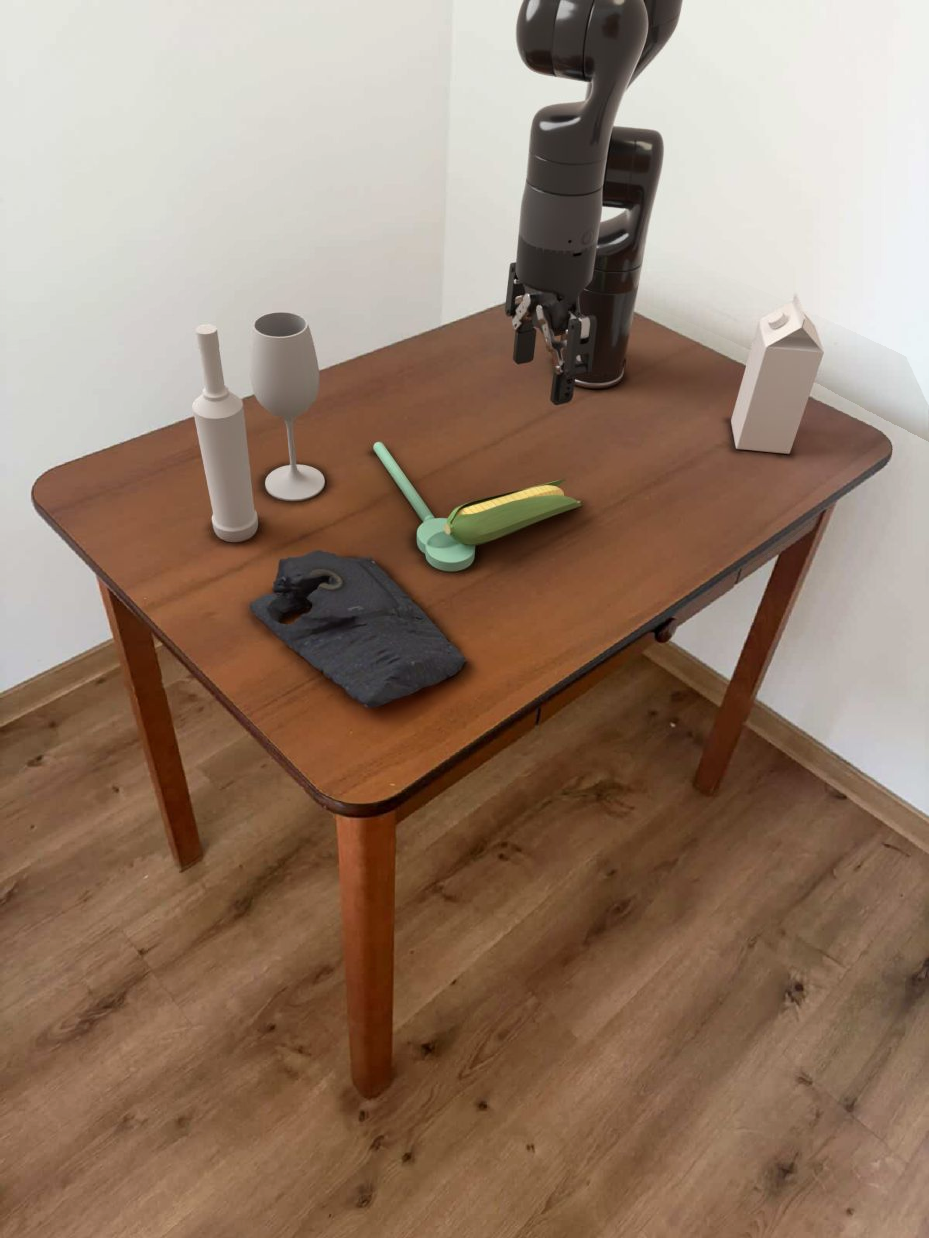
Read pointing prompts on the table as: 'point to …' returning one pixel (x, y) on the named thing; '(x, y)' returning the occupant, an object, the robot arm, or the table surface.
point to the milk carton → (777, 380)
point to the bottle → (223, 446)
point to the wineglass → (286, 391)
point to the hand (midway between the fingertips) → (541, 381)
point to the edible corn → (506, 513)
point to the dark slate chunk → (357, 627)
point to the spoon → (429, 524)
